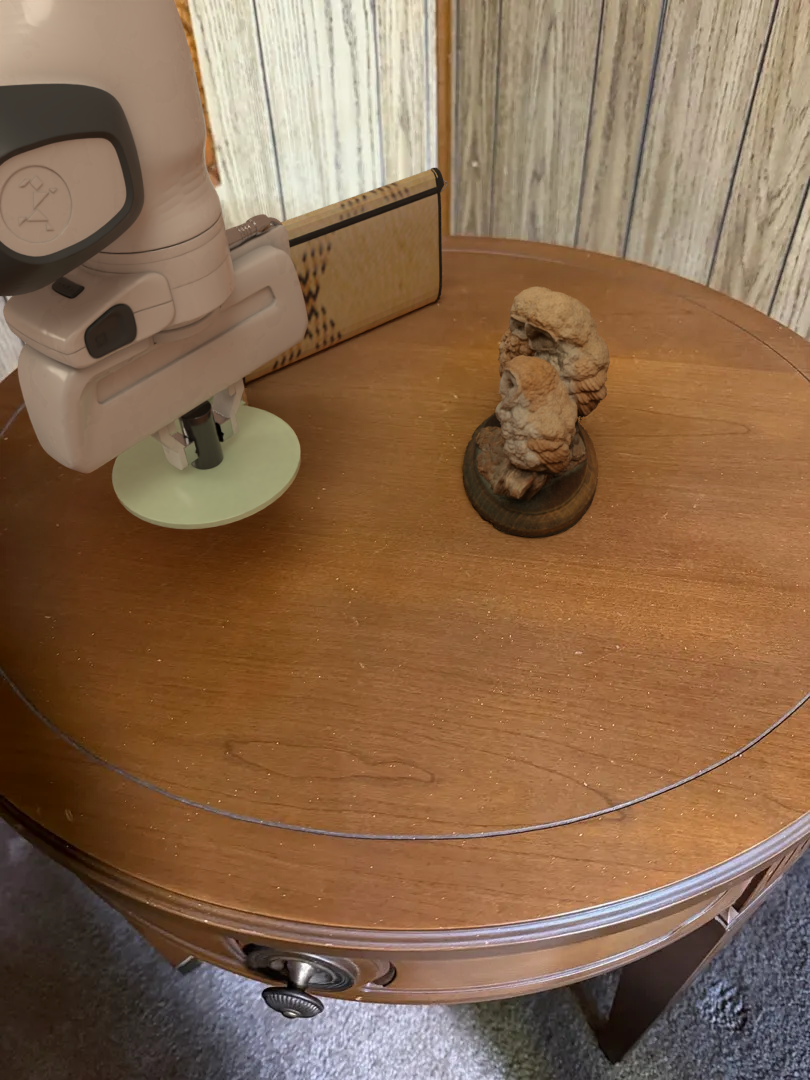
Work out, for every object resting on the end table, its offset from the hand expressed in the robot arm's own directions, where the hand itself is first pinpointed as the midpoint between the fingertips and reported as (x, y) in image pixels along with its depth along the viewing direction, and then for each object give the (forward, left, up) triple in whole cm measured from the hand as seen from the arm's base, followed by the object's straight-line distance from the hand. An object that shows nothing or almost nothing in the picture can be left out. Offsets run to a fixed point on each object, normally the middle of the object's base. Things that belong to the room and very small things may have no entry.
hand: (203, 448), depth 60 cm
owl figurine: (+24, -12, -13) cm, 30 cm away
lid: (0, 0, -2) cm, 2 cm away
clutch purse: (+30, +18, -13) cm, 37 cm away
